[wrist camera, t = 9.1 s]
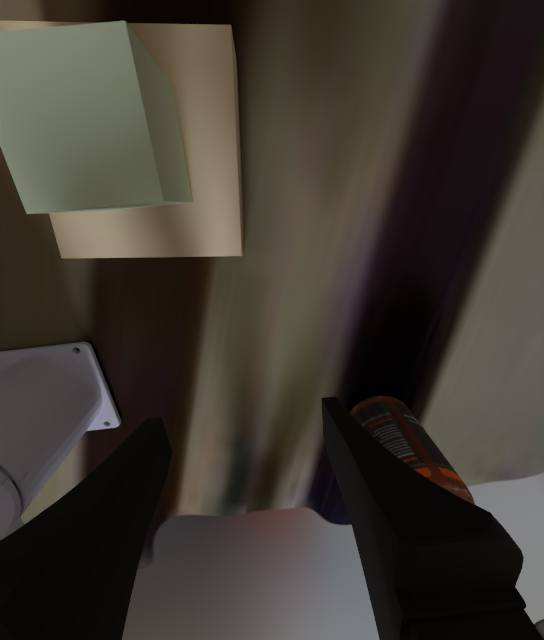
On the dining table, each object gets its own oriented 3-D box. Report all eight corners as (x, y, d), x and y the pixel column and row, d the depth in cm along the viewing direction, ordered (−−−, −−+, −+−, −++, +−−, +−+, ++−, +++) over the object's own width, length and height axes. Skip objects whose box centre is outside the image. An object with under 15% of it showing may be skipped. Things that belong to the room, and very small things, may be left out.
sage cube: (98, 211, 15) (26, 214, 10) (64, 95, 13) (-43, 35, 8) (193, 202, 15) (163, 201, 10) (172, 86, 13) (125, 20, 8)
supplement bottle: (329, 429, 26) (378, 582, 15) (370, 381, 24) (456, 517, 14) (379, 452, 27) (455, 608, 17) (421, 409, 25) (536, 552, 15)
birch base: (99, 248, 19) (61, 258, 16) (56, 64, 16) (-6, 20, 12) (244, 246, 20) (241, 256, 16) (237, 66, 16) (231, 24, 12)
